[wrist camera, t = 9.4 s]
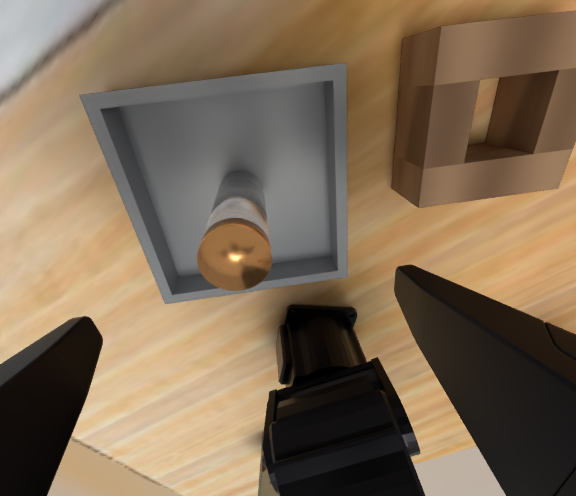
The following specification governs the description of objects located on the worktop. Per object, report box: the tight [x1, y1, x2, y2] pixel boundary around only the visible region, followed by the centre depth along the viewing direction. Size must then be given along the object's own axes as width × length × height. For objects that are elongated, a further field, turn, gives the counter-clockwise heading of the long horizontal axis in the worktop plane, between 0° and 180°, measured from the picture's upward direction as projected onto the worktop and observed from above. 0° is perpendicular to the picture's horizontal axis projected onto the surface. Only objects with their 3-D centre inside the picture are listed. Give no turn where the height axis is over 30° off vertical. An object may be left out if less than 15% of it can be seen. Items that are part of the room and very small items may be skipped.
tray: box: [79, 63, 347, 304], centre depth 19 cm, size 13×13×3 cm
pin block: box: [392, 10, 576, 208], centre depth 17 cm, size 9×9×4 cm
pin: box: [197, 170, 272, 291], centre depth 16 cm, size 3×3×9 cm
